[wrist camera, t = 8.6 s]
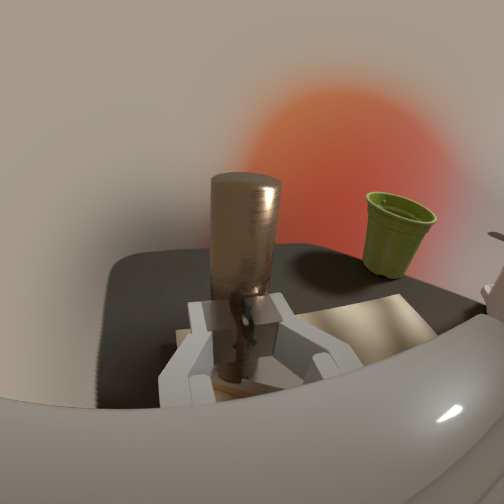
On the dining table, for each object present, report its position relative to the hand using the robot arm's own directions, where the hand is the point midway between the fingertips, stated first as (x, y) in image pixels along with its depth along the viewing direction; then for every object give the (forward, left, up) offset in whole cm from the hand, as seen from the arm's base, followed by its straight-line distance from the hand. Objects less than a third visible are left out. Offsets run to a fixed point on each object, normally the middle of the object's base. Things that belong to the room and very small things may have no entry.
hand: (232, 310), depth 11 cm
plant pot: (-23, -14, -10) cm, 29 cm away
